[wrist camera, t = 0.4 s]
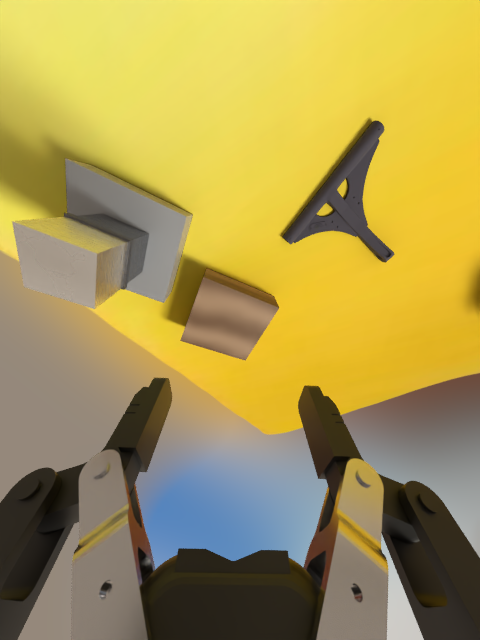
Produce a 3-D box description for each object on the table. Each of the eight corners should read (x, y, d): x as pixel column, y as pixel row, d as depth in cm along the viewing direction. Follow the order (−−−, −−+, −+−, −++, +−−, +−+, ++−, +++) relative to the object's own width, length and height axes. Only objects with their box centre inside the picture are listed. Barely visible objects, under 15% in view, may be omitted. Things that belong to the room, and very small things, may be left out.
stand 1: (91, 165, 21) (65, 158, 18) (192, 214, 24) (186, 216, 21) (89, 261, 27) (69, 269, 24) (171, 291, 30) (163, 302, 27)
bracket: (343, 290, 32) (352, 297, 30) (281, 236, 27) (285, 239, 24) (427, 213, 26) (446, 214, 24) (368, 124, 21) (385, 114, 18)
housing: (101, 210, 20) (7, 216, 12) (151, 232, 22) (100, 252, 13) (98, 256, 23) (21, 288, 14) (143, 273, 24) (97, 311, 16)
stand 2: (206, 268, 28) (203, 277, 25) (274, 296, 31) (279, 307, 28) (185, 326, 34) (180, 340, 30) (244, 345, 37) (245, 360, 34)
